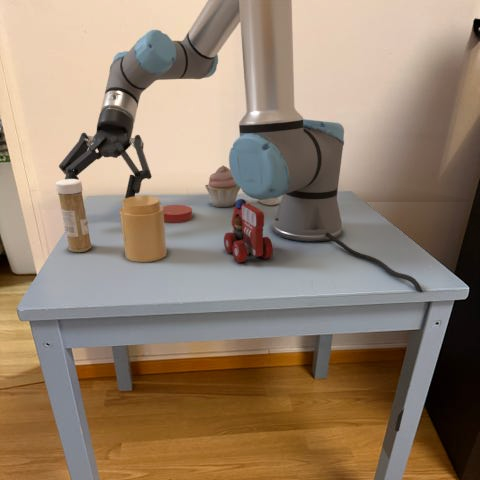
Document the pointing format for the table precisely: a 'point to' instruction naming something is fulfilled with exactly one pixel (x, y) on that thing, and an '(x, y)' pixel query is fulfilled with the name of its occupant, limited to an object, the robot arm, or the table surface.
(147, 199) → the jar
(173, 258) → the table surface
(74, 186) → the sprinkles bottle
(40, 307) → the table surface
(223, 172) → the cupcake
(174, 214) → the lid
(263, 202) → the eye dropper bottle
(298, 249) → the table surface
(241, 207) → the toy fire truck
